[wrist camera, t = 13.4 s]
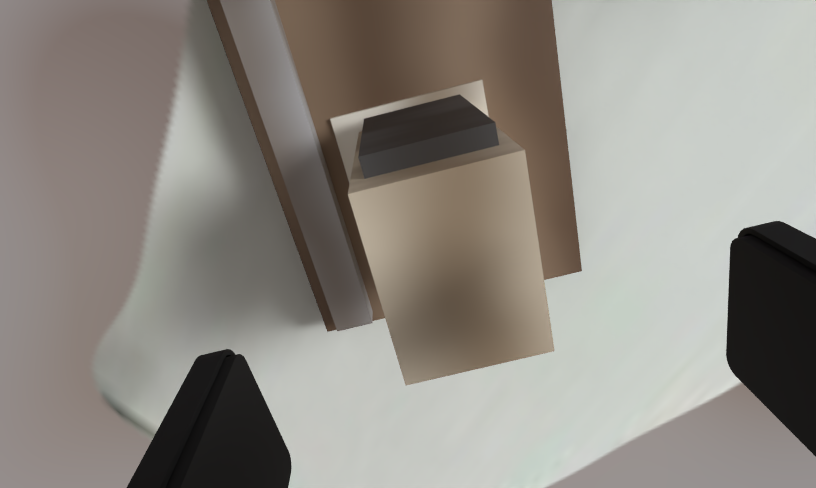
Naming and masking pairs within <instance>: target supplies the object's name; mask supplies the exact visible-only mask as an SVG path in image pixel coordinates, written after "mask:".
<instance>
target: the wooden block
mask: <svg viewBox="0 0 816 488" xmlns="http://www.w3.org/2000/svg"><path fill="white" fill-rule="evenodd" d="M348 197H349V200H350V203H351V207H352V210H353V213H354V217H355V220H356V223H357V226H358V230H359V233H360V236H361V240H362V243H363V246H364V249H365V253H366V256H367V259H368V263H369V266H370V269H371V272H372V276H373V279H374V282H375V286H376V289H377V292H378V296H379V299H380V302H381V305H382V309H383V312H384V315H385V319H386V322H387V325H388V328H389V332H390V335H391V338H392V342H393V345H394V348H395V351H396V355H397V358H398V361H399V365H400V368H401V371H402V375H403V378H404V381H405V384H406V385H410V384H414V383H419V382H423V381H427V380H431V379H436V378H440V377H444V376H449V375H453V374H457V373H462V372H466V371H470V370H475V369H479V368H483V367H487V366H492V365H496V364H500V363H505V362H509V361H513V360H518V359H522V358H526V357H531V356H535V355H539V354H543V353H548V352H552V351H554V345H553V338H552V331H551V324H550V317H549V311H548V304H547V297H546V290H545V283H544V277H543V270H542V263H541V256H540V249H539V242H538V236H537V229H536V222H535V215H534V208H533V202H532V195H531V188H530V181H529V174H528V168H527V161H526V154H525V150H524V149H523V148H522V147H521V146H519V145H518V144H517V143H516V142H515V141H513V140H512V139H511V138H510V137H508V136H507V135H506V134H505V133H504V132H502V131H501V130H500V129H499V128H497V127H496V123H495V122H494V121H493V120H492V119H491V118H489V117H488V116H487V115H485V114H484V113H483V112H482V111H480V110H479V109H478V108H477V107H475V106H474V105H473V104H471V103H470V102H469V101H468V100H466V99H465V98H464V97H462V96H461V95H460V94H459V95H455V96H451V97H447V98H443V99H439V100H435V101H431V102H427V103H423V104H419V105H416V106H412V107H408V108H404V109H400V110H396V111H392V112H388V113H384V114H380V115H377V116H373V117H369V118H365V119H364V122H363V128H362V132H359V134H358V139H357V145H356V151H355V156H354V162H353V167H352V173H351V179H350V184H349V190H348Z"/></svg>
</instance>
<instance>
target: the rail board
mask: <svg viewBox="0 0 816 488" xmlns="http://www.w3.org/2000/svg"><path fill="white" fill-rule="evenodd" d="M207 2H208V5H209V8H210V10H211V13H212V16H213V19H214V21H215V24H216V27H217V30H218V32H219V35H220V38H221V41H222V43H223V46H224V49H225V52H226V54H227V57H228V60H229V63H230V65H231V68H232V71H233V74H234V76H235V79H236V82H237V84H238V87H239V90H240V93H241V95H242V98H243V101H244V104H245V106H246V109H247V112H248V115H249V117H250V120H251V123H252V126H253V128H254V131H255V134H256V137H257V139H258V142H259V145H260V148H261V150H262V153H263V156H264V159H265V161H266V164H267V167H268V170H269V172H270V175H271V178H272V181H273V183H274V186H275V189H276V192H277V194H278V197H279V200H280V203H281V205H282V208H283V211H284V214H285V216H286V219H287V222H288V224H289V227H290V230H291V233H292V235H293V238H294V241H295V244H296V246H297V249H298V252H299V255H300V257H301V260H302V263H303V266H304V268H305V271H306V274H307V277H308V279H309V282H310V285H311V288H312V290H313V293H314V296H315V299H316V301H317V304H318V307H319V310H320V312H321V315H322V318H323V321H324V323H325V326H326V329H327V332H328V331H332V330H337V331H341V330H345V329H349V328H353V327H357V326H362V325H366V324H370V323H372V321H374V320H378V319H383V318H385V315H384V312H383V309H382V305H381V302H380V299H379V296H378V292H377V289H376V286H375V282H374V279H373V276H372V272H371V269H370V266H369V263H368V259H367V256H366V253H365V249H364V246H363V243H362V240H361V236H360V233H359V230H358V226H357V223H356V220H355V217H354V213H353V210H352V207H351V203H350V200H349V197H348V190H349V184H350V179H351V173H352V167H353V162H354V156H355V151H356V145H357V139H358V134H359V132H362V128H363V122H364V119H365V118H369V117H373V116H377V115H380V114H384V113H388V112H392V111H396V110H400V109H404V108H408V107H412V106H416V105H419V104H423V103H427V102H431V101H435V100H439V99H443V98H447V97H451V96H455V95H459V94H460V95H461V96H462V97H464V98H465V99H466V100H468V101H469V102H470V103H471V104H473V105H474V106H475V107H477V108H478V109H479V110H480V111H482V112H483V113H484V114H485V115H487V116H488V117H489V118H491V119H492V120H493V121H494V122H495V123H496V127H497V128H499V129H500V130H501V131H502V132H504V133H505V134H506V135H507V136H508V137H510V138H511V139H512V140H513V141H515V142H516V143H517V144H518V145H519V146H521V147H522V148H523V149H524V150H525V154H526V161H527V168H528V174H529V181H530V188H531V195H532V202H533V208H534V215H535V222H536V229H537V236H538V242H539V249H540V256H541V263H542V270H543V277H544V280H546V279H550V278H554V277H558V276H563V275H567V274H571V273H575V272H579V271H582V269H581V260H580V251H579V242H578V233H577V224H576V215H575V206H574V197H573V188H572V179H571V170H570V161H569V152H568V144H567V135H566V126H565V117H564V108H563V99H562V90H561V81H560V72H559V63H558V54H557V45H556V36H555V27H554V18H553V9H552V0H207Z"/></svg>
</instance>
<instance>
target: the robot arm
mask: <svg viewBox="0 0 816 488" xmlns="http://www.w3.org/2000/svg"><path fill="white" fill-rule="evenodd" d="M726 356H727V361H728V364H729V367H730V369H731V370H732V372H733V373H734V374H735V376H736V377H737V378H738V379H739V380H740V381H741V382H742V383H743V384H744V385H745V386H746V387H747V388H748V389H749V390H751V392H752V393H753V394H754V395H755V396H756V397H757V398H758V399H759V400H760V401H761V402H762V403H763V404H764V405H765V406H766V407H767V408H768V409H769V410H770V411H771V412H772V413H773V414H774V415H775V416H776V417H777V418H778V419H779V420H780V421H781V422H782V423H783V424H784V425H785V426H786V427H787V428H788V429H789V430H790V431H791V432H792V433H793V434H794V435H795V436H796V437H797V438H798V439H799V440H800V441H801V442H802V443H803V444H804V445H805V446H806V447H807V448H808V449H809V450H810V451H811V452H812V453H813V454H814V455H815V456H816V239H815V238H813V237H811V236H809V235H807V234H805V233H803V232H801V231H799V230H797V229H795V228H794V227H792V226H790V225H788V224H786V223H783V222H780V221H774V222H770V223H765V224H761V225H757V226H753V227H748V228H744V229H743V230H741V231H740V233H739V235H738V238H736V239H734V240H733V241H732V243H731V247H730V270H729V297H728V323H727V349H726ZM290 475H291V458H290V454H289V451H288V449H287V447H286V445H285V443H284V440H283V438H282V436H281V434H280V432H279V430H278V428H277V425H276V423H275V421H274V419H273V417H272V415H271V413H270V411H269V408H268V406H267V404H266V402H265V400H264V398H263V396H262V393H261V391H260V389H259V387H258V385H257V383H256V381H255V379H254V376H253V374H252V372H251V370H250V368H249V366H248V364H247V361H246V360H245V358H244V356H242V355H241V354H237V355H235V354H234V352H233V351H232V350H229V349H226V350H222V351H217V352H213V353H209V354H204V355H201V356H198V357H197V359H196V360H195V362H194V364H193V366H192V367H191V369H190V371H189V373H188V375H187V377H186V379H185V380H184V382H183V384H182V386H181V388H180V390H179V392H178V393H177V395H176V397H175V399H174V401H173V403H172V405H171V406H170V408H169V410H168V412H167V414H166V416H165V418H164V419H163V421H162V423H161V425H160V427H159V429H158V431H157V432H156V434H155V436H154V438H153V440H152V442H151V444H150V445H149V447H148V449H147V451H146V453H145V455H144V457H143V459H142V460H141V462H140V464H139V466H138V468H137V470H136V472H135V473H134V475H133V477H132V479H131V481H130V483H129V484H128V487H127V488H288V485H289V480H290Z"/></svg>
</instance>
